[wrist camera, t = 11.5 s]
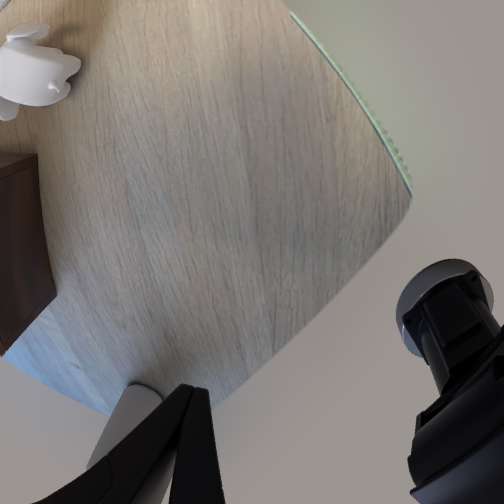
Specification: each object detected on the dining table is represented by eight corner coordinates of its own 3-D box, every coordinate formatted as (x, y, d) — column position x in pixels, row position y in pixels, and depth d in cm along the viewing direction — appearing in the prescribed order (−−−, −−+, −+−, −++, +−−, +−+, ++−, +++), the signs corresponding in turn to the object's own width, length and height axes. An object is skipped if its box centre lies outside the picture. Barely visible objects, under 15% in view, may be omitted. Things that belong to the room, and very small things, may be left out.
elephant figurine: (46, 17, 14) (-9, 11, 9) (116, 45, 15) (59, 35, 10) (15, 94, 17) (-40, 104, 12) (76, 132, 18) (18, 149, 13)
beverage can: (127, 399, 32) (89, 482, 21) (123, 376, 30) (77, 467, 19) (165, 413, 32) (133, 500, 21) (165, 390, 29) (127, 488, 19)
